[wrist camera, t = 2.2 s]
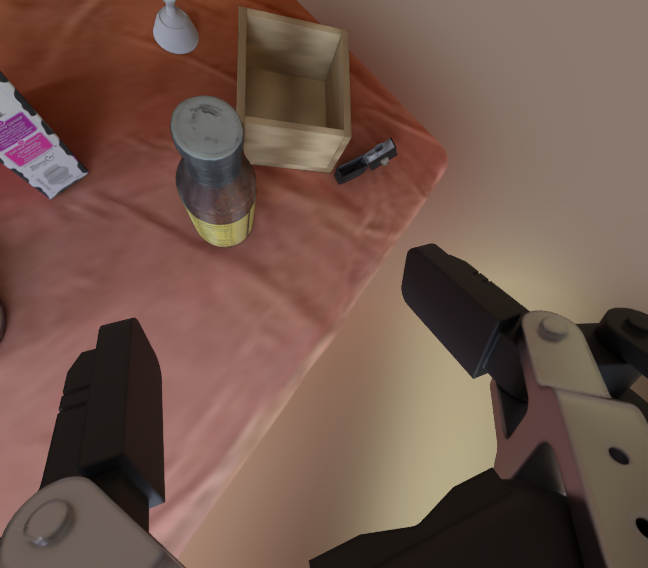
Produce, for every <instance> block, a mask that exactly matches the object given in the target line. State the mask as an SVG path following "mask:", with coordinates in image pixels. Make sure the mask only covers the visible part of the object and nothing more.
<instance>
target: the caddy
mask: <svg viewBox="0 0 648 568" xmlns="http://www.w3.org/2000/svg"><path fill="white" fill-rule="evenodd" d="M236 112H237V113H238V115H239V117H240V119H241V121H242V124H243V129H244V144H243V148H242V149H243V151H244V154H245V156H246V157H247V159H248V160H249V161H250V163H251V164H255V165H264V166H273V167H283V168H292V169H301V170H310V171H319V172H328V173H331V171H332V169H333V168H334V166H335V164H336V163H337V161H338V159H339V158H340V156H341V154H342V153H343V151H344V149H345V148H346V146H347V144H348V143H349V141H350V139H351V106H350V71H349V35H348V31H347V30H343V29H342V30H341V29H338V28H334V27H329V26H325V25H321V24H316V23H312V22H307V21H303V20H298V19H294V18H290V17H285V16H281V15H276V14H272V13H267V12H263V11H258V10H254V9H250V8H245V7H241V6H239V19H238V64H237V108H236Z"/></svg>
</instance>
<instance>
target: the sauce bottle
mask: <svg viewBox="0 0 648 568" xmlns="http://www.w3.org/2000/svg"><path fill="white" fill-rule="evenodd" d="M170 130H171V134H172V137H173V141H174V144H175V146H176V149H177V150H178V152H179V153H180V154H181V156H182V159H181V161H180V162H179V165H178V167H177V171H176V186H177V190H178V193H179V196H180V198H181V200H182V202H183V204H184V206H185V208H186V210H187V212H188V214H189V216H190V218H191V220H192V222H193V224H194V226H195V228H196V230H197V232H198V233H199V234H200V236H201V237H202V238H203V239H204V240H206V241H207V242H208V243H210V244H213V245H215V246H219V247H225V248H231V247H233V246H236V245H238V244H239V243H241V242H242V241H243V240H245V239H246V238H247V237H248V235H249V233H250V231H251V229H252V225H253V219H254V210H255V200H256V175H255V171H254V168H253V167H252V166H251V163H250V161H249V160H248V159H247V157H246V156H245V154H244V151H243V149H242V148H243V144H244V129H243V124H242V121H241V119H240V117H239V115H238V113H237V112H236V111H235V109H234V108H233V107H231V106H230V105H229V104H228V103H227V102H225V101H223V100H221V99H220V98H217V97H214V96H195V97H191V98H188V99H186V100H184V101H183V102H181V103H179V105H178V106H177V107H176V108H175V110H174V112H173V114H172V118H171V125H170Z"/></svg>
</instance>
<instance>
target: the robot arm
mask: <svg viewBox="0 0 648 568" xmlns="http://www.w3.org/2000/svg"><path fill="white" fill-rule="evenodd" d="M401 287H402V288H401V290H402V295H403V298H404V300H405V302H406V303H407V305H408V306H409V307H410V308H411V309H412V310H413V311H414V313H415V314H416V315H417V316H418V317H419V318H420V319H421V320H422V322H423V323H424V324H425V325H426V326H427V327H428V328H429V329H430V331H431V332H432V333H433V334H434V335H435V336H436V337H437V339H438V340H439V341H440V342H441V343H442V344H443V345H444V346H445V348H446V349H447V350H448V351H449V352H450V353H451V354H452V355H453V356H454V358H455V359H456V360H457V361H458V362H459V363H460V364H461V366H462V367H463V368H464V369H465V370H466V371H467V372H468V373H469V375H470V376H471V377H472V378H473V379H474V378H477V377H479V376H482V375H484V374H487V373H488V374H489V375H490V376H491V377H492V380H491V383H490V390H491V398H492V405H493V413H494V421H495V429H496V437H497V454H496V459H495V463H494V469H493V468H490V469H488V470H486V471H484V472H482V473H481V474H478V475H476V476H475V477H472V478H470V479H469V480H466V481H465V482H463V483H461V484H459V485H457V486H455V487H453V488H452V489H451V490H450V491H449V492H448V493H447V495H446V496H445V497H444V498H443V499H442V500H441V501H440V502H439V503H438V504H437V505H436V506H435V507H434V509H432V511H431V512H430V513H429V514H428V515H427V516H426V517H425V518H424V519H423V520H422V521H421V522H420V523H419V524H418V525H416V526H412V527H406V528H400V529H393V530H387V531H381V532H374V533H368V534H361V535H358V536H357V537H355V538H353V539H351V540H349V541H347V542H345V543H343V544H341V545H339V546H337V547H335V548H333V549H331V550H329V551H327V552H325V553H323V554H321V555H319V556H317V557H315V558H314V559H311V560H309V564H310V568H648V403H647V402H646V401H645V400H643V399H642V398H641V397H640V396H639V395H637V394H636V393H635V392H634V391H632V390H631V389H630V387H631V386H632V385H633V384H634V383H635V381H636V380H637V379H638V378H639V377H640V376H641V375H642V374H643V375H644V376H645V377H647V378H648V315H647V314H645V313H643V312H640V311H636V310H633V309H628V308H613V309H610V310H608V311H607V312H606V314H605V315H604V317H603V318H602V319H601V321H600V322H599V323H590V324H589V323H588V324H574V323H573V322H572V321H570V320H569V319H567V318H565V317H563V316H561V315H558V314H556V313H553V312H548V311H531V312H530V311H528V310H527V309H526V308H525V307H523V306H522V305H520V304H519V303H518V302H517V301H516V300H514V299H513V298H512V297H511V296H509V295H508V294H506V293H505V292H504V291H503V290H502V289H500V288H499V287H498V286H496V285H495V284H494V283H493V282H491V281H490V282H489V281H488V279H487V278H486V277H485V276H484V275H482V274H481V273H480V274H479V273H478V271H477V270H476V269H475V268H473V267H472V266H471V265H469V264H468V263H467V262H465V261H463V260H461V259H459V258H456V257H454V256H452V255H448V254H447V253H446V252H444V251H443V250H442V249H441V248H439V247H438V246H437V245H436V244H427V245H423V246H419V247H415V248H411V249H410V250H409V251H408V253H407V257H406V262H405V268H404V274H403V280H402V286H401ZM5 327H6V311H5V307H4V304H3V302H2V300H1V298H0V341H1V339H2V337H3V335H4V331H5ZM63 394H64V396H62V398H61V402H60V406H59V411H60V413H58V415H57V419H56V423H55V427H54V432H53V436H52V440H51V444H50V448H49V453H48V457H47V461H46V465H45V470H44V474H43V478H42V482H41V485H40V488H39V490H38V492H37V493H35V494H34V495H33V496H32V497H30V498H29V499H28V500H27V501H26V502H25V503H24V504H23V505H22V506H21V507H20V508H19V510H18V511H17V512H16V513H15V514H14V516H13V517H12V519H11V520H10V521H9V523H8V525H7V527H6V528H5V530H4V532H3V535H2V537H1V538H0V568H185V566H184V565H182V564H181V562H179V561H178V560H177V559H176V558H175V557H174V556H173V555H172V554H171V553H170V552H169V551H168V550H167V549H166V548H165V547H164V546H163V545H162V544H161V543H159V542H158V541H157V540H156V539H155V538H154V537H153V536H152V535H151V534H150V533H149V508H152V507H154V506H157V505H159V504H162V503H164V502H165V482H164V445H163V409H162V377H161V370H160V365H159V362H158V359H157V356H156V354H155V352H154V350H153V349H152V347H151V345H150V343H149V341H148V339H147V337H146V335H145V333H144V331H143V329H142V327H141V325H140V323H139V322H138V320H137V319H136V318H130V319H126V320H122V321H118V322H114V323H110V324H106V325H102V326H101V327H100V329H99V333H98V339H97V345H96V349H93V350H89V351H86V352H82V353H81V354H80V355H79V357H78V358H77V360H76V361H75V362H74V364H73V365H72V367H71V368H70V369H69V371H68V372H67V377H66V381H65V385H64V389H63Z"/></svg>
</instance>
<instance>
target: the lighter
mask: <svg viewBox="0 0 648 568" xmlns="http://www.w3.org/2000/svg"><path fill="white" fill-rule="evenodd" d="M395 156H397V153H396V146H395V144H394V142H393V140H392V138H389V139H388V140H386V141H385V142H383V143H380V144H378V145H376V146H375V147H374V149H372V150H370V151H369V152H367V153H366V154H364V155H361V156H359V157H357V158H355V159H353V160H351V161H349V162H347V163H345V164H343V165H341V166H339V167H338V168H337V170H336V172H335V174H334V176H335V178H336V180H337V182H338V183H339V184H342V183H345V182H347V181H349V180H351V179H353V178H355V177H357V176H359V175H361V174H362V173H364V172H365V170H366V168H367V166H368V164H369V166H370V168H371V170H374V169H375V168H377V167H379V166H380V165H385V166H387V165H388V162H389V160H390V159H392V158H393V157H395Z"/></svg>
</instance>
